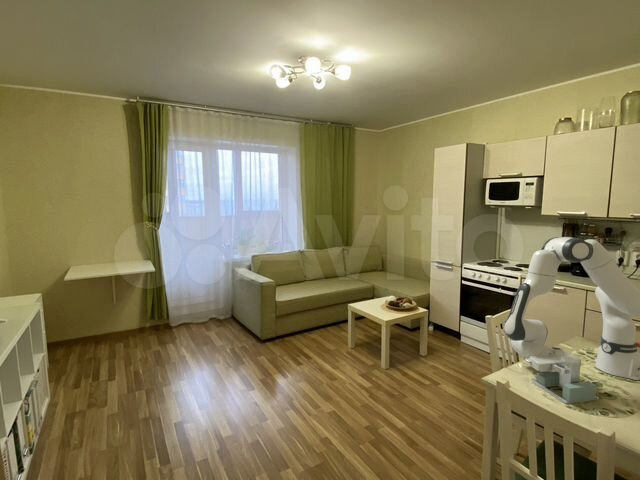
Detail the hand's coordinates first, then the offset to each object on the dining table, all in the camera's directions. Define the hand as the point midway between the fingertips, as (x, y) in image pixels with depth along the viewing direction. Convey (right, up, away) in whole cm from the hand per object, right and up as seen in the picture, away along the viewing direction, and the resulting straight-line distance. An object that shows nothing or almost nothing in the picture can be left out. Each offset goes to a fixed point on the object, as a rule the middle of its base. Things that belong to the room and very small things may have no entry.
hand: (571, 371), depth 135 cm
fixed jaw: (0, -9, +4) cm, 10 cm away
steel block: (0, -7, +2) cm, 8 cm away
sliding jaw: (-1, -9, +9) cm, 13 cm away
